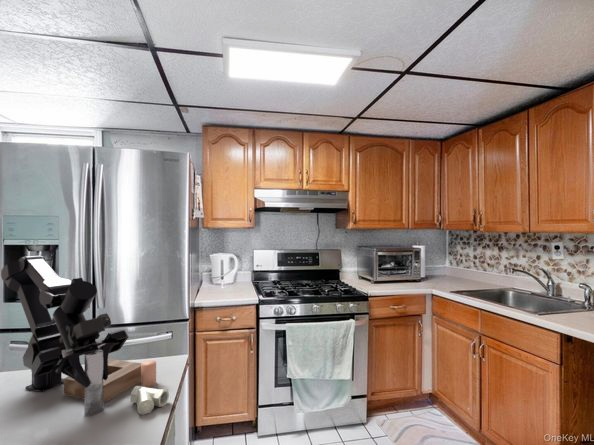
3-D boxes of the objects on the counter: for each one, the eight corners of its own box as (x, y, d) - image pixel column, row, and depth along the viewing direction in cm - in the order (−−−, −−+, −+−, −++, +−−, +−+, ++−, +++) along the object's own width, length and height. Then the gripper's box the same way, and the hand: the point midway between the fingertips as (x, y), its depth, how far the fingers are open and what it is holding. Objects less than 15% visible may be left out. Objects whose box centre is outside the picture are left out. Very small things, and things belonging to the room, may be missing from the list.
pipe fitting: (149, 420, 71) (169, 402, 77) (148, 402, 71) (168, 386, 77) (119, 415, 73) (141, 397, 80) (118, 398, 73) (140, 382, 79)
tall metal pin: (80, 414, 73) (80, 354, 73) (95, 405, 76) (95, 349, 76) (92, 416, 71) (92, 356, 72) (107, 408, 75) (107, 350, 75)
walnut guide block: (63, 394, 81) (63, 378, 81) (108, 372, 94) (108, 358, 94) (104, 402, 77) (104, 385, 77) (145, 378, 90) (145, 363, 90)
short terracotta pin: (138, 386, 85) (138, 365, 85) (148, 380, 89) (148, 360, 89) (149, 388, 84) (149, 366, 84) (159, 382, 87) (159, 361, 88)
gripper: (37, 313, 68) (62, 379, 62) (124, 297, 84) (150, 348, 78) (21, 345, 72) (43, 409, 66) (107, 324, 88) (131, 374, 82)
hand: (97, 382), depth 73 cm, fingers closed on tall metal pin, 4 cm apart
